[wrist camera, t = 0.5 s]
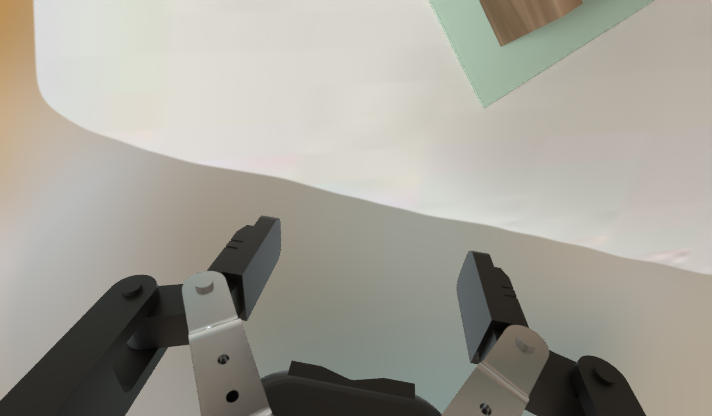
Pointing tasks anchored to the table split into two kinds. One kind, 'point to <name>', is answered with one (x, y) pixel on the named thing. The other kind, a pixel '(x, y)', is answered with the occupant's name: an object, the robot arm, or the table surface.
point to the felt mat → (521, 41)
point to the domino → (523, 15)
